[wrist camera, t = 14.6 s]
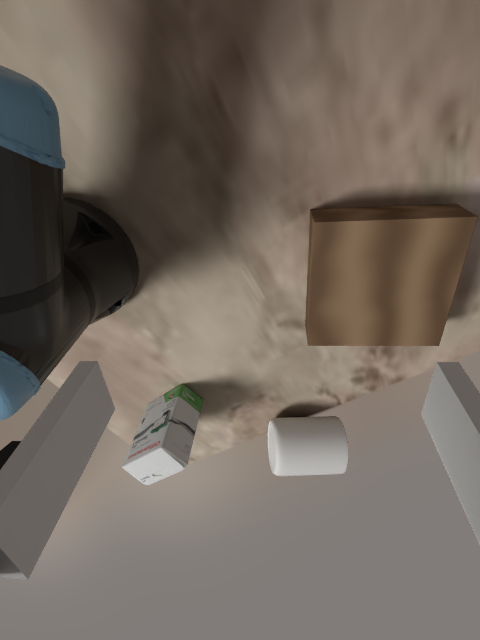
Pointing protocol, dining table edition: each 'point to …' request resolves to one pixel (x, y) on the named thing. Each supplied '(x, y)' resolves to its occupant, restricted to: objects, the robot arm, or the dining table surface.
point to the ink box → (164, 436)
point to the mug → (307, 446)
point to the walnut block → (384, 273)
